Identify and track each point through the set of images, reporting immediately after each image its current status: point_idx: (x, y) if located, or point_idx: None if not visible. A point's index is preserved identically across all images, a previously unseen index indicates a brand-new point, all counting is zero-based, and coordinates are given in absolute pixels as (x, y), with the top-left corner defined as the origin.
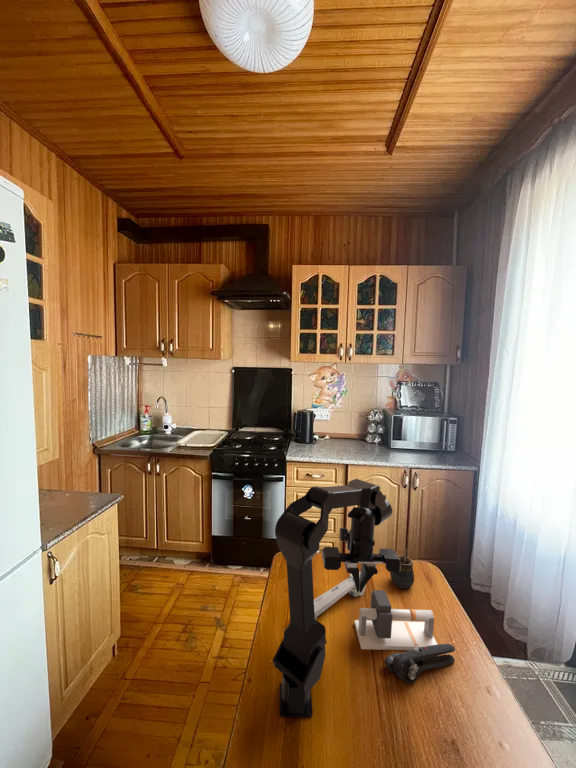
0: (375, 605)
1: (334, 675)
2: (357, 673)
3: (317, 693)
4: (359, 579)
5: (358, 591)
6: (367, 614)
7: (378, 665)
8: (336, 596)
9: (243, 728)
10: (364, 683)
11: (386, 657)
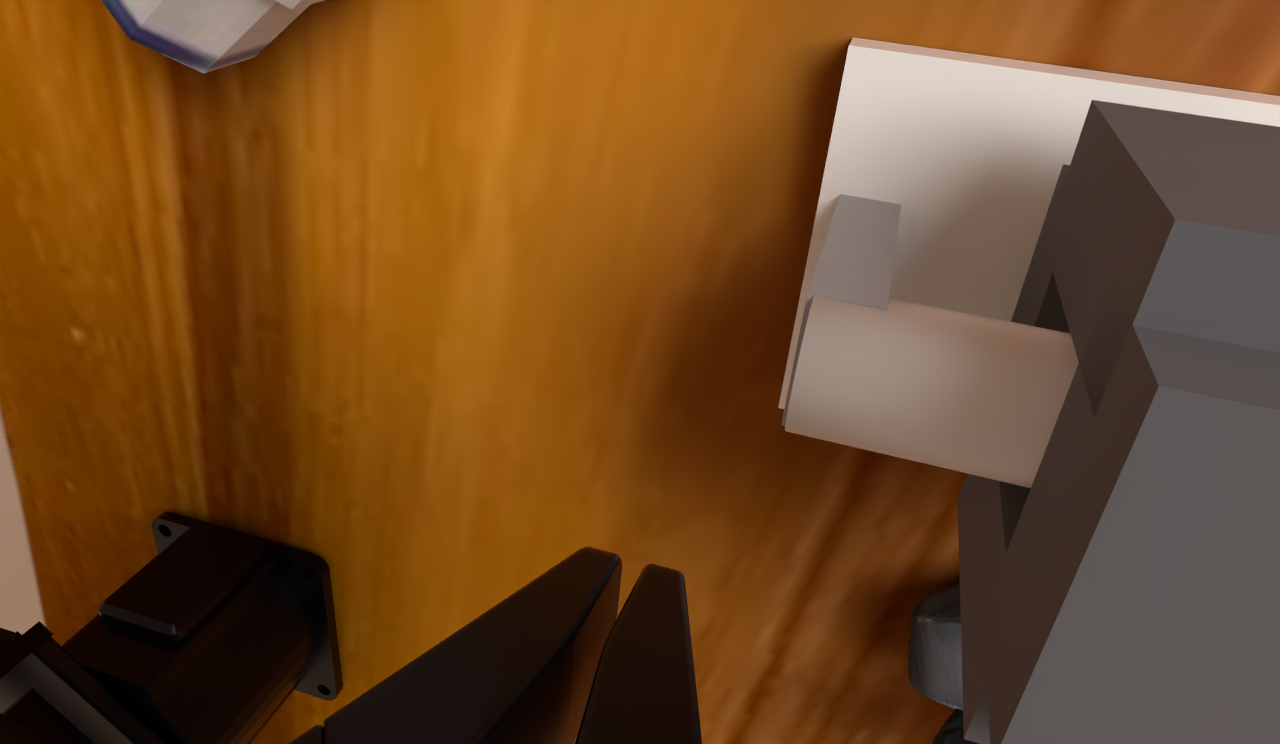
0: (1045, 493)
1: (492, 533)
2: (664, 563)
3: (375, 598)
4: (582, 727)
5: (603, 645)
6: (869, 448)
7: (872, 553)
8: None
9: (61, 630)
10: (690, 632)
11: (943, 621)
